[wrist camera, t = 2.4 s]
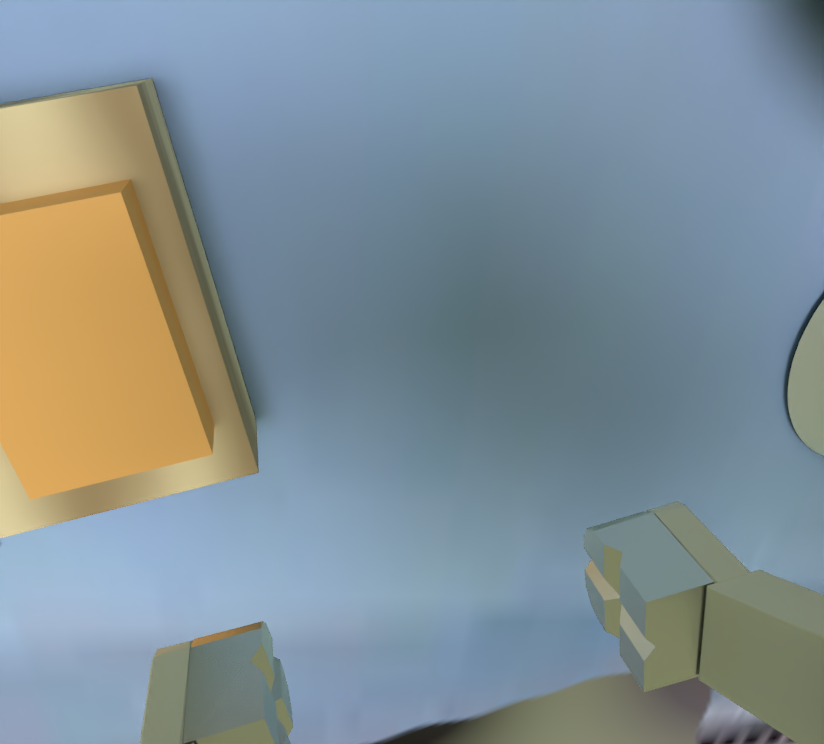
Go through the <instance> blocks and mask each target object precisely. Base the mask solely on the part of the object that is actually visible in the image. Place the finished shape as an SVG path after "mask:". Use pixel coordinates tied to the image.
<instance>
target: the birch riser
mask: <svg viewBox="0 0 824 744" xmlns="http://www.w3.org/2000/svg"><path fill="white" fill-rule="evenodd" d="M129 179H131V181H132V184H133V187H134V190H135V193H136V196H137V199H138V202H139V205H140V208H141V211H142V214H143V217H144V219H145V222H146V225H147V228H148V231H149V234H150V237H151V240H152V243H153V246H154V249H155V252H156V255H157V258H158V261H159V264H160V266H161V269H162V272H163V275H164V278H165V281H166V284H167V287H168V290H169V293H170V296H171V299H172V302H173V305H174V308H175V311H176V313H177V316H178V319H179V322H180V325H181V328H182V331H183V334H184V337H185V340H186V343H187V346H188V349H189V352H190V355H191V358H192V360H193V363H194V366H195V369H196V372H197V375H198V378H199V381H200V384H201V387H202V390H203V393H204V396H205V399H206V402H207V405H208V407H209V410H210V413H211V416H212V419H213V422H214V441H213V455H209V456H205V457H201V458H197V459H193V460H189V461H185V462H181V463H177V464H173V465H169V466H165V467H160V468H156V469H152V470H148V471H144V472H140V473H136V474H132V475H128V476H124V477H120V478H116V479H112V480H108V481H104V482H100V483H96V484H92V485H88V486H84V487H80V488H76V489H72V490H68V491H64V492H60V493H56V494H52V495H48V496H44V497H40V498H36V499H32V500H30V498H29V497H28V495H27V493H26V491H25V489H24V487H23V485H22V483H21V481H20V480H19V478H18V476H17V474H16V472H15V470H14V468H13V466H12V465H11V463H10V461H9V459H8V457H7V455H6V453H5V451H4V449H3V448H2V446H1V444H0V538H3V537H7V536H11V535H15V534H19V533H22V532H26V531H30V530H34V529H38V528H42V527H46V526H50V525H54V524H58V523H62V522H66V521H70V520H74V519H78V518H81V517H85V516H89V515H93V514H97V513H101V512H105V511H109V510H113V509H117V508H121V507H125V506H129V505H133V504H137V503H140V502H144V501H148V500H152V499H156V498H160V497H164V496H168V495H172V494H176V493H180V492H184V491H188V490H192V489H196V488H199V487H203V486H207V485H211V484H215V483H219V482H223V481H227V480H231V479H235V478H239V477H243V476H247V475H251V474H255V473H258V472H259V470H258V449H257V428H256V419H255V416H254V412H253V409H252V406H251V402H250V399H249V396H248V393H247V389H246V386H245V383H244V379H243V376H242V373H241V369H240V366H239V363H238V360H237V356H236V353H235V350H234V346H233V343H232V340H231V337H230V333H229V330H228V327H227V323H226V320H225V317H224V314H223V310H222V307H221V304H220V300H219V297H218V294H217V291H216V287H215V284H214V281H213V277H212V274H211V271H210V268H209V264H208V261H207V258H206V254H205V251H204V248H203V244H202V241H201V238H200V235H199V231H198V228H197V225H196V221H195V218H194V215H193V212H192V208H191V205H190V202H189V198H188V195H187V192H186V189H185V185H184V182H183V179H182V175H181V172H180V169H179V166H178V162H177V159H176V156H175V152H174V149H173V146H172V143H171V139H170V136H169V133H168V129H167V126H166V123H165V119H164V116H163V113H162V110H161V106H160V103H159V100H158V96H157V93H156V90H155V87H154V83H153V80H152V78H150V79H145V80H139V81H133V82H127V83H121V84H115V85H109V86H104V87H98V88H92V89H86V90H80V91H74V92H68V93H62V94H57V95H51V96H45V97H39V98H33V99H27V100H21V101H16V102H10V103H4V104H0V204H2V203H8V202H13V201H18V200H23V199H29V198H34V197H39V196H44V195H50V194H55V193H60V192H66V191H71V190H76V189H81V188H87V187H92V186H97V185H102V184H108V183H113V182H118V181H123V180H129Z"/></svg>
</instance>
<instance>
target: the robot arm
mask: <svg viewBox="0 0 824 744" xmlns="http://www.w3.org/2000/svg"><path fill="white" fill-rule="evenodd" d="M788 408H789V414H790V418H791V421H792V424H793V426H794V429H795V431H796V432H797V434H798V436H799V437H800V438H801V440H802V441H803V442H804V443H805V444H806V445H807V446H808V447H809V448H810V449H812V450H813V451H815V452H816V453H818V454H820V455H822V456H824V299H823V301H822V302H821V304H820V305H819V307H818V308H817V310H816V311H815V313H814V315H813V316H812V318H811V320H810V321H809V323H808V325H807V327H806V329H805V331H804V333H803V335H802V337H801V340H800V342H799V344H798V347H797V350H796V352H795V356H794V359H793V362H792V366H791V370H790V376H789V382H788ZM584 549H585V550H586V552H587V553H588V555H589V556H590V558H591V559H592V560H591V561H590V563H589V564H588V566H587V567H586V569H585V579H586V588H587V592H588V595H589V599H590V602H591V605H592V607H593V609H594V612H595V614H596V616H597V618H598V620H599V621H600V623H601V625H602V626H603V628H604V630H605V631H607V632H609V633H611V634H612V635H614V636H616V637H618V638H620V656H621V657H622V659H623V660H624V662H625V663H626V665H627V667H628V668H629V670H630V671H631V673H632V675H633V676H634V677H635V679H636V681H637V683H638V684H639V686H640V687H641V689H642V690H643V692H647V691H650V690H654V689H657V688H661V687H664V686H667V685H671V684H674V683H678V682H681V681H685V680H688V679H691V678H695V677H698V676H699V680H700V681H702V682H703V683H705V684H707V685H708V686H709V687H711V688H713V689H714V690H716V691H717V692H719V693H720V694H722V695H723V696H725V697H726V698H728V699H730V700H731V701H733V702H734V703H736V704H737V705H739V706H740V707H742V708H744V709H745V710H747V711H748V712H750V713H751V714H753V715H754V716H756V717H757V718H759V719H761V720H762V721H764V722H765V723H767V724H768V725H770V726H771V727H773V728H775V729H776V730H778V731H779V732H781V733H782V734H784V735H785V736H787V737H788V738H790V739H792V740H793V741H795V742H796V743H798V744H824V595H822V594H820V593H817V592H815V591H812V590H810V589H807V588H804V587H802V586H799V585H797V584H794V583H792V582H789V581H787V580H784V579H782V578H779V577H776V576H774V575H771V574H769V573H766V572H764V571H761V570H758V571H754V572H749V570H748V569H747V568H746V567H745V566H744V565H743V564H742V563H741V562H740V561H739V560H738V559H737V558H736V557H735V556H734V555H733V554H732V553H731V552H730V551H729V550H728V549H727V548H726V547H725V546H724V545H723V544H722V543H721V542H720V541H719V540H718V539H717V538H716V537H715V536H714V535H713V534H712V532H711V531H710V530H709V529H708V528H707V527H706V526H705V525H704V524H703V523H702V522H701V521H700V520H699V519H698V518H697V517H696V516H695V515H694V514H693V513H692V512H691V511H690V510H689V509H688V508H687V507H686V506H685V505H684V504H682V503H680V502H674V503H671V504H667V505H664V506H660V507H657V508H654V509H650V510H647V511H646V512H640V513H637V514H633V515H630V516H627V517H623V518H620V519H617V520H613V521H610V522H606V523H603V524H600V525H596V526H593V527H590V528H586V531H585V534H584ZM292 728H293V720H292V710H291V703H290V697H289V691H288V685H287V682H286V678H285V674H284V670H283V667H282V665H281V662H280V659H278V658H276V657H274V656H273V643H272V637H271V634H270V632H269V629H268V627H267V624H266V623H265V622H263V621H262V622H258V623H255V624H251V625H247V626H243V627H239V628H235V629H231V630H228V631H224V632H220V633H216V634H212V635H208V636H204V637H201V638H197V639H194V640H192V641H188V642H184V643H180V644H176V645H173V646H169V647H165V648H161V649H157V651H156V653H155V655H154V657H153V659H152V663H151V670H150V677H149V684H148V691H147V698H146V705H145V712H144V719H143V726H142V733H141V740H140V744H291V743H290V741H289V738H288V735H289V733H290V732H291V730H292Z"/></svg>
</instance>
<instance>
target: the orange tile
mask: <svg viewBox="0 0 824 744" xmlns="http://www.w3.org/2000/svg"><path fill="white" fill-rule="evenodd" d="M213 441H214V422H213V419H212V416H211V413H210V410H209V407H208V405H207V402H206V399H205V396H204V393H203V390H202V387H201V384H200V381H199V378H198V375H197V372H196V369H195V366H194V363H193V360H192V358H191V355H190V352H189V349H188V346H187V343H186V340H185V337H184V334H183V331H182V328H181V325H180V322H179V319H178V316H177V313H176V311H175V308H174V305H173V302H172V299H171V296H170V293H169V290H168V287H167V284H166V281H165V278H164V275H163V272H162V269H161V266H160V264H159V261H158V258H157V255H156V252H155V249H154V246H153V243H152V240H151V237H150V234H149V231H148V228H147V225H146V222H145V219H144V217H143V214H142V211H141V208H140V205H139V202H138V199H137V196H136V193H135V190H134V187H133V184H132V181H131V179H129V180H123V181H118V182H113V183H108V184H102V185H97V186H92V187H87V188H81V189H76V190H71V191H66V192H60V193H55V194H50V195H44V196H39V197H34V198H29V199H23V200H18V201H13V202H8V203H2V204H0V444H1V446H2V448H3V449H4V451H5V453H6V455H7V457H8V459H9V461H10V463H11V465H12V466H13V468H14V470H15V472H16V474H17V476H18V478H19V480H20V481H21V483H22V485H23V487H24V489H25V491H26V493H27V495H28V497H29V498H30V500H32V499H36V498H40V497H44V496H48V495H52V494H56V493H60V492H64V491H68V490H72V489H76V488H80V487H84V486H88V485H92V484H96V483H100V482H104V481H108V480H112V479H116V478H120V477H124V476H128V475H132V474H136V473H140V472H144V471H148V470H152V469H156V468H160V467H165V466H169V465H173V464H177V463H181V462H185V461H189V460H193V459H197V458H201V457H205V456H209V455H213Z"/></svg>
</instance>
